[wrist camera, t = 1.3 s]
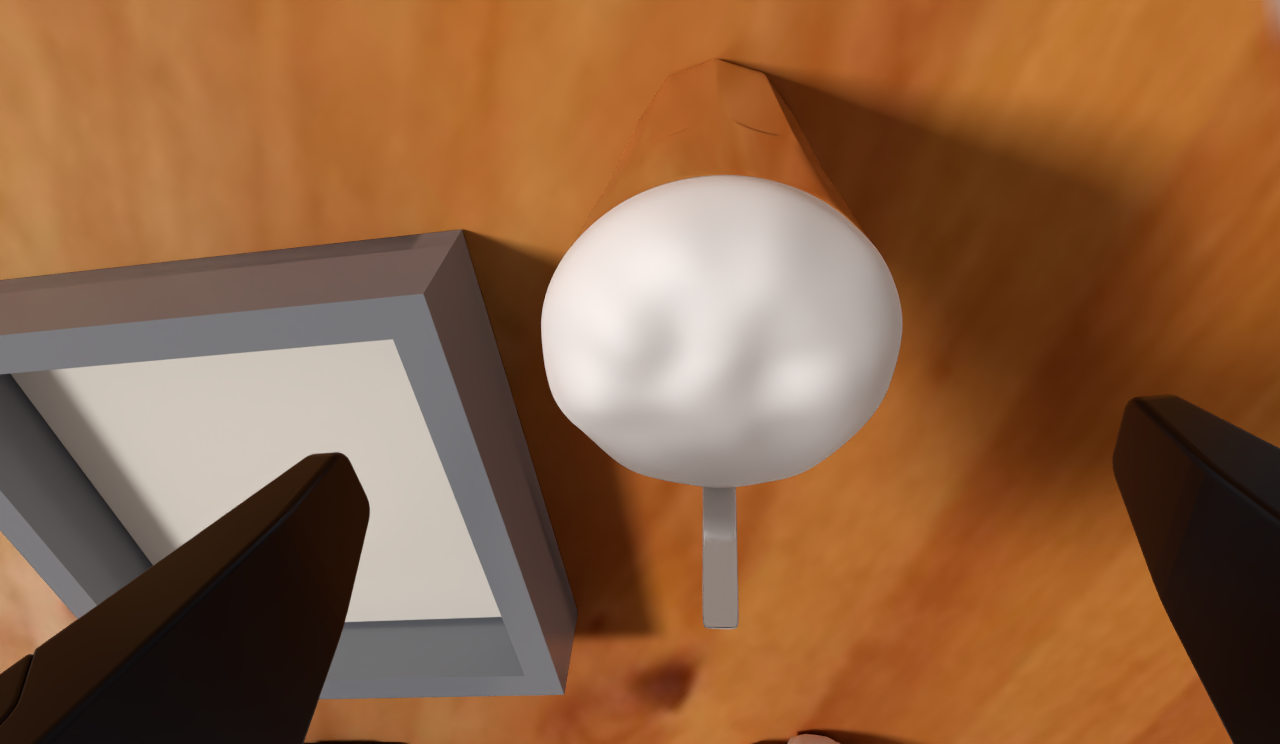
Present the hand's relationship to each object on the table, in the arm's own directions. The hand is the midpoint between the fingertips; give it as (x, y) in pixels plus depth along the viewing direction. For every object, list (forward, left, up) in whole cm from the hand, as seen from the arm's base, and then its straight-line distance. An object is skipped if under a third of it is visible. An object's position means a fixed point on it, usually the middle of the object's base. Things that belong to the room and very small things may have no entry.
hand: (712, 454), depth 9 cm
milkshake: (0, 0, -10) cm, 10 cm away
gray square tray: (-8, +13, -10) cm, 18 cm away
